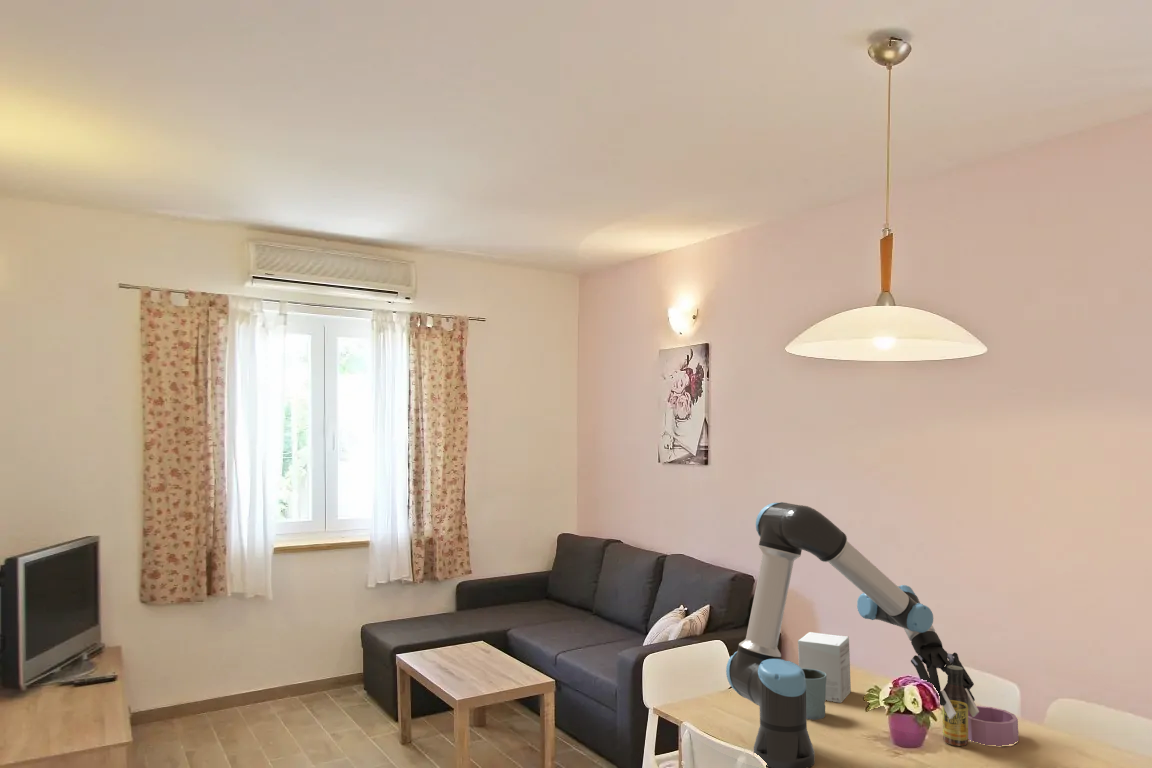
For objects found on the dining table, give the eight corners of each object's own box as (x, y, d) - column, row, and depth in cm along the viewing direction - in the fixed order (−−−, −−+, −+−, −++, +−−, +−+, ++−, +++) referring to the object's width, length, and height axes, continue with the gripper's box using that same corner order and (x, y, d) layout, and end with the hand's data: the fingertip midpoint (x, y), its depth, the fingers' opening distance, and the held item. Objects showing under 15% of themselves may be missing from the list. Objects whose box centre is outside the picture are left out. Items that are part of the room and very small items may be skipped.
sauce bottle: (942, 745, 211) (938, 668, 212) (943, 736, 217) (940, 662, 218) (969, 749, 208) (966, 671, 209) (970, 740, 214) (966, 665, 215)
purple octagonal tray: (1022, 749, 208) (1021, 725, 208) (965, 743, 212) (964, 720, 212) (1012, 730, 220) (1011, 708, 221) (958, 725, 225) (957, 704, 225)
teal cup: (823, 709, 239) (822, 668, 240) (831, 721, 229) (829, 678, 230) (789, 708, 240) (788, 668, 241) (795, 720, 230) (794, 678, 231)
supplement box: (851, 691, 255) (850, 636, 257) (841, 703, 244) (839, 645, 245) (810, 685, 262) (808, 631, 264) (798, 696, 251) (797, 640, 252)
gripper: (947, 641, 231) (989, 719, 214) (887, 646, 227) (926, 725, 210) (958, 627, 226) (1002, 705, 209) (898, 631, 222) (938, 711, 205)
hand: (964, 715), depth 209 cm, fingers closed on sauce bottle, 6 cm apart
